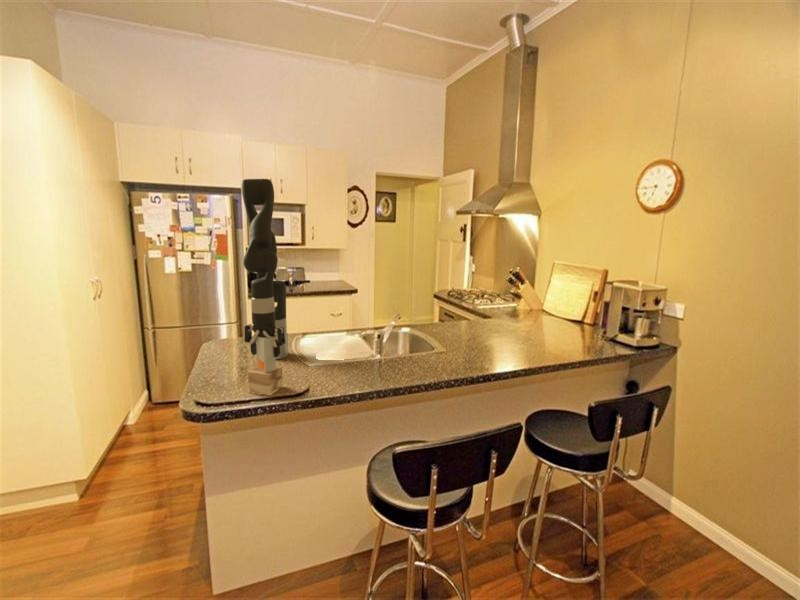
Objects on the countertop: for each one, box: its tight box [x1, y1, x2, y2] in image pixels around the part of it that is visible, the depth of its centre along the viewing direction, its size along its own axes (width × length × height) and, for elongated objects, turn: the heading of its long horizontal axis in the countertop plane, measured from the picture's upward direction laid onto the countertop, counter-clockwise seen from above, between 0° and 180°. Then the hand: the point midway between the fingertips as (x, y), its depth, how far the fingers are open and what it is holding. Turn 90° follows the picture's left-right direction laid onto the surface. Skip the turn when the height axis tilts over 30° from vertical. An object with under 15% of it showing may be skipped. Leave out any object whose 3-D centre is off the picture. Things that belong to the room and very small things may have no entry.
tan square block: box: [247, 365, 283, 386], centre depth 139 cm, size 8×8×4 cm
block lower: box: [248, 377, 284, 394], centre depth 140 cm, size 8×8×4 cm
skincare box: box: [256, 337, 277, 373], centre depth 137 cm, size 6×4×12 cm
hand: (265, 355), depth 138 cm, fingers open, 8 cm apart
